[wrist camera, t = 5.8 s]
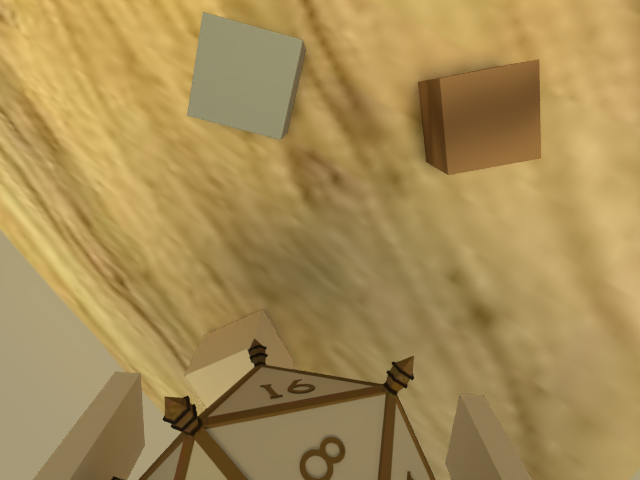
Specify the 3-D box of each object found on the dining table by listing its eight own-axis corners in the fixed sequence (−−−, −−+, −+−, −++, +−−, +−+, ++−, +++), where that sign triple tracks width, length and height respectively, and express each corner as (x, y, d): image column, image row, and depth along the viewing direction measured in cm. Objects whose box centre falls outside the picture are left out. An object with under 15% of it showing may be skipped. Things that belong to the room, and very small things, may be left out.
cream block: (293, 361, 33) (289, 405, 28) (236, 385, 33) (223, 432, 29) (263, 308, 31) (253, 346, 27) (204, 334, 32) (184, 375, 27)
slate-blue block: (287, 132, 27) (280, 139, 23) (210, 112, 27) (187, 115, 22) (305, 50, 26) (302, 40, 21) (224, 28, 25) (202, 11, 21)
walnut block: (502, 148, 28) (541, 158, 23) (426, 162, 28) (448, 174, 23) (499, 66, 26) (539, 59, 21) (417, 82, 26) (439, 78, 22)
